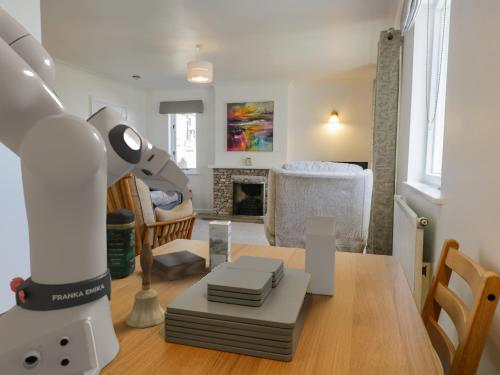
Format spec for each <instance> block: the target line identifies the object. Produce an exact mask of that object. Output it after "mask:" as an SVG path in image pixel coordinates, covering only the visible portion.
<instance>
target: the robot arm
mask: <svg viewBox="0 0 500 375" xmlns="http://www.w3.org/2000/svg"><path fill="white" fill-rule="evenodd" d="M56 72H57V71H56V65H55V62H54V60H53V58H52V56H51V55H50V53H49V52H48V51H47V50H46V48H45V47H44V46H43V45H42V44H41V42H39V41H38V40H37V39H36V38H35V37H34V36H33V35H32V33H30V32H29V30H28V29H26V28H25V27H24V26H23V25H22V24H21V23H20V22H19V21H18V20H16V19H15V18H14V17H13V16H12V15H11V14H10V13H8V11H6V10H4V8H2V7H1V6H0V143H1V144H2V145H3V146H5V147H6V148H8V150H10V151H11V152H12V153H13V154H15V155H16V157H18V158H19V161H20V168H21V169H20V171H21V179H22V180H21V181H22V190H23V191H22V192H23V198H24V205H25V214H26V219H27V227H28V228H27V229H28V242H29V243H28V244H29V265H30V266H29V267H30V268H29V269H30V270H29V271H30V276H29V277H28V278H26V279H23V277H21V276H17V277H14V278H12V279H11V280H10V281H9V282H10V283H9V286H10V290H11V292H14V294H15V296H14V297H15V305H13V306H12V307H11V308H10V309H9V310H7V312H5V313H4V314H2V315H1V316H0V375H99V374H100V372H101V371H102V369H103V368H105V367H106V366H107V365H108V364H110V363H111V362H112V361H113V360H114V359H115V358H116V357H117V355H118V353H119V351H120V343H119V341H118V338H117V334H116V331H115V328H114V323H113V319H112V312H111V305H110V301H112V300H111V297H112V296H111V295H112V278H111V275H110V269H109V268H107V243H106V214H107V206H108V204H107V202H108V201H107V200H108V199H107V198H108V197H107V196H108V189H109V188H110V187H111V186H113V185H114V184H115V183H117V182H118V181H119V180H121V179H122V178H124V177H125V175H126V174H127V173H130V174H131V175H132V176H134V178H135V179H137V180H138V179H139V180H141V181H142V182H143V183H144V185H145V186H147V187H148V188H149V189H156V190H157V189H158V190H159V191H161V192H162V193H164V194H165V195H166V196H168V197H170V198H173V197H174V196H175V195H176V192H179V193H181V196H182V197H183V198H184V199H185V200H191V198H192V197H193V193H192V192H191V191H190V189H189V188H188V186H189V184H190V183H191V180H190V177H189V176H188V175H187V173H186V172H185V170H184V169H182V168H181V166H180V165H178V164H177V163H176V162H175V161H174V160H172V159H171V158H172V155H171V153H169V152H168V151H167V150H163V149H161V148H159V147H156V145H153V143H151V142H150V141H149V140H148V139H147V138H145V137H143V136H142V135H141V133H139V131H138V129H137V128H136V127H135V126H134V125H133V123H131V122H130V121H129V120H128V119H127V118H126V117H124V116H123V115H122V114H120V113H119V112H118V111H116V110H115V108H113V107H111V106H108V105H107V106H104V107H101V108H100V109H98V110H97V111H96V112H94V113H93V114H92V115H90V116H89V117H88V118H87V119H84V118H82V117H79V116H76V114H74V113H73V111H72V110H71V109H69V107H68V106H67V105H66V104H65V103H64V102H63V101H62V100H61V99H60V98H59V97H58V96H57V94H55V92H54V88H55V86H56V85H55V84H56V78H57V73H56Z"/></svg>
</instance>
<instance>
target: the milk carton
mask: <svg viewBox="0 0 500 375" xmlns="http://www.w3.org/2000/svg"><path fill="white" fill-rule="evenodd" d="M305 216H306V219H305V222H306V224H305V240H304V242H305V245H304V246H305V249H304V250H305V251H304V274H305V273H309V274H312V279H311V291H312V295H314V294H315V295H323V296H324V295H326V296H334V295H335V274H336V272H335V269H336V266H335V264H336V216H332V215H331V216H330V215H329V216H328V215H307V214H306V215H305Z"/></svg>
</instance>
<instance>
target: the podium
mask: <svg viewBox="0 0 500 375" xmlns="http://www.w3.org/2000/svg"><path fill="white" fill-rule="evenodd" d="M150 272H153V273H155V274H156V275H158V276H159V277H161V278H162V279H164V280H166V281H167V282H169V281H173V280H178V279H182V278H186V277H191V276H196V275H200V274H199V273H201V274H204V273H203V272H205V273H206V272H207V259H206V258H205V257H202V256H200V255H197V254H196V253H194V252H191V251H188V250H187V249H185V250H180V251H175V252H168V253H163V254H158V255H153V263H152V267H151V271H150ZM195 274H196V275H195Z"/></svg>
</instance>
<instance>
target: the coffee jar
mask: <svg viewBox="0 0 500 375" xmlns="http://www.w3.org/2000/svg"><path fill="white" fill-rule="evenodd" d="M135 226H136V213H135V212H134V211H133V210H131V208H116V209H115V210H112V211H109V212H106V243H107V268H109V269H110V275H111V279H112V278H113V279H119V278H122V277H128V276H130V275H131V274H132V273H134V271H135V270H136V267H137V266H136V244H135V243H136V241H135V240H136V239H135V238H136V237H135V235H136V234H135V232H136V227H135Z"/></svg>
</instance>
